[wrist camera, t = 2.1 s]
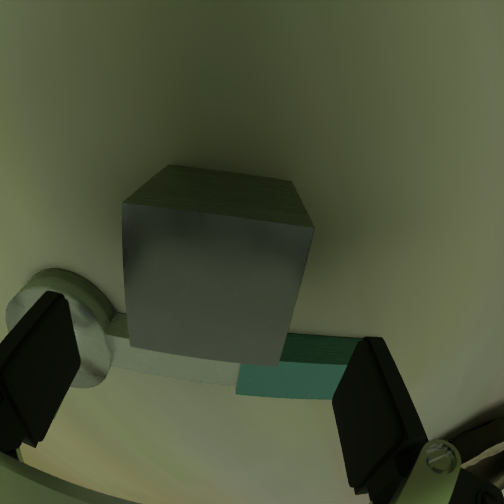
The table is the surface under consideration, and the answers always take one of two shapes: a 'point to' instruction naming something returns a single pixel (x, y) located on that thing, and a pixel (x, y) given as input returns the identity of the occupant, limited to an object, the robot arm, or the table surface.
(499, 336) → the table surface
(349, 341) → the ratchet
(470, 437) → the stone bowl
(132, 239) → the brushed grey cube
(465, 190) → the table surface
